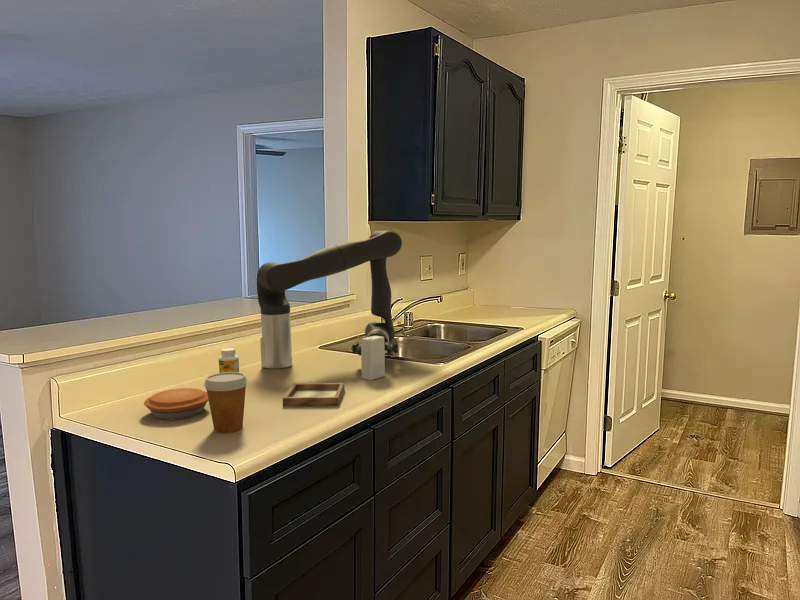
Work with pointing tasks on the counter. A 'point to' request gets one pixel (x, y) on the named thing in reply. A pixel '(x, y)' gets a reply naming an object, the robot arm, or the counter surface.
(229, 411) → the disposable coffee cup
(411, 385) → the counter surface
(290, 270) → the robot arm
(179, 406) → the pie
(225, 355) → the supplement bottle
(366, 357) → the skincare box
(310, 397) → the tray
